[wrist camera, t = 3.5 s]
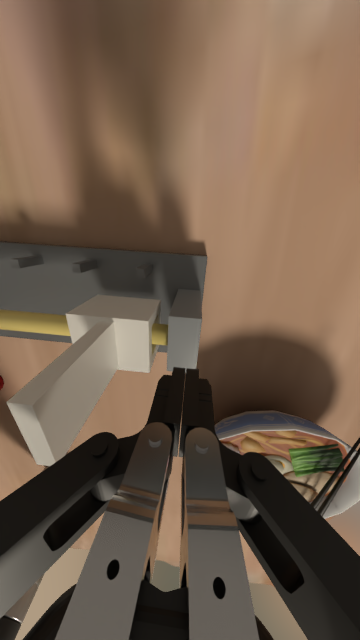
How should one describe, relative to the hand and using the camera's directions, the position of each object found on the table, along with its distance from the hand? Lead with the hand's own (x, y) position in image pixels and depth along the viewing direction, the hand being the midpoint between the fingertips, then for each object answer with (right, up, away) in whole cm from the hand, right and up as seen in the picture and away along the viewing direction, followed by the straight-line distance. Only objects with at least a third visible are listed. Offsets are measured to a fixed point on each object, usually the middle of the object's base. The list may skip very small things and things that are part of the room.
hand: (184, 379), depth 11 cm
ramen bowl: (+12, -15, +19) cm, 27 cm away
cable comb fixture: (-13, +6, +12) cm, 18 cm away
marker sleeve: (-5, +4, +7) cm, 9 cm away
